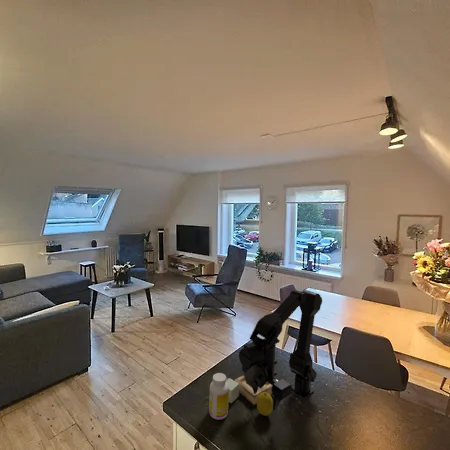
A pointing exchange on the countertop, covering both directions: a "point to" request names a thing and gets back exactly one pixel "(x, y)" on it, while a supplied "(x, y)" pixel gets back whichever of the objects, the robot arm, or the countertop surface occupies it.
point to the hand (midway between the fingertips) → (264, 401)
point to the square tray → (248, 390)
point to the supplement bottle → (218, 397)
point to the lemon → (264, 403)
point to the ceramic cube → (232, 390)
